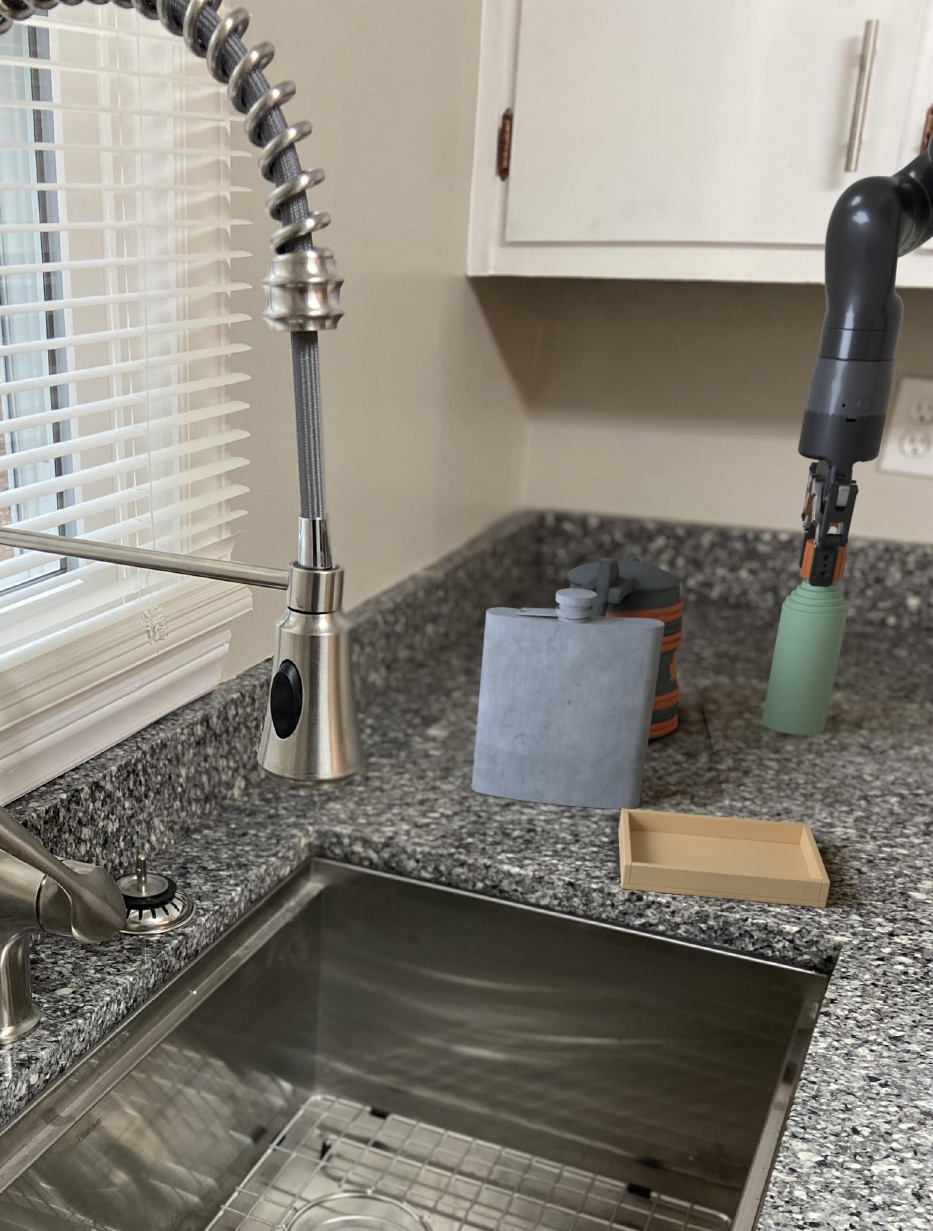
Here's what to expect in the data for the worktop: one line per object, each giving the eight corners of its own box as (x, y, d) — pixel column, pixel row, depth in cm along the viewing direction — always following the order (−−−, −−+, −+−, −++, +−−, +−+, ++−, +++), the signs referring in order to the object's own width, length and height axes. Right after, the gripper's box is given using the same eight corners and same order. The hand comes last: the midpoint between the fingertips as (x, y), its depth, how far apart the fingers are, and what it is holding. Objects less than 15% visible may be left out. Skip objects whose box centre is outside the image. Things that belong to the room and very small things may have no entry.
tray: (804, 847, 126) (809, 823, 125) (825, 908, 115) (830, 882, 114) (618, 831, 128) (621, 808, 127) (621, 888, 118) (624, 863, 117)
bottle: (818, 727, 154) (854, 545, 145) (826, 747, 149) (864, 559, 140) (757, 722, 155) (789, 542, 147) (762, 741, 150) (796, 555, 141)
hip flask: (639, 798, 135) (668, 592, 126) (638, 814, 132) (668, 603, 123) (473, 781, 139) (490, 579, 130) (468, 796, 136) (485, 589, 127)
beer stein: (662, 768, 143) (691, 570, 134) (518, 748, 147) (537, 556, 138) (683, 711, 159) (711, 531, 149) (553, 695, 163) (572, 519, 154)
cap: (848, 582, 143) (855, 547, 141) (808, 581, 142) (815, 547, 141) (832, 572, 146) (839, 538, 145) (794, 572, 146) (800, 538, 144)
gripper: (795, 396, 144) (768, 559, 152) (816, 415, 132) (785, 592, 139) (873, 399, 143) (841, 563, 150) (901, 418, 130) (865, 597, 138)
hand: (814, 577), depth 145 cm, fingers open, 6 cm apart
